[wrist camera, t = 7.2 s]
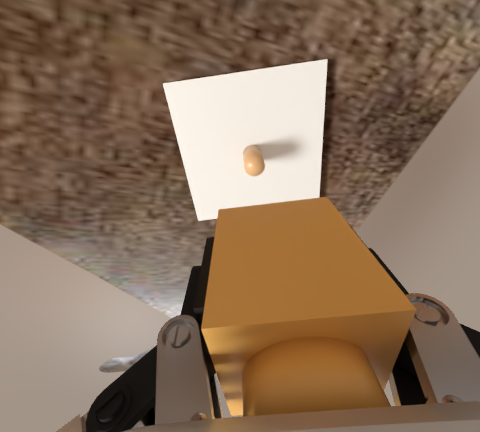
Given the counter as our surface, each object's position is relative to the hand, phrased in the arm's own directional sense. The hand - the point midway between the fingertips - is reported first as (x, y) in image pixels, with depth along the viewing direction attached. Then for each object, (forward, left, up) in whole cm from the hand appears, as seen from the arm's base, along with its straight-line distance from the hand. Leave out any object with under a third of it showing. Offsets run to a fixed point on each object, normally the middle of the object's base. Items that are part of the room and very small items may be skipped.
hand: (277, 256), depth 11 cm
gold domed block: (0, 0, -1) cm, 1 cm away
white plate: (0, 0, -19) cm, 19 cm away
